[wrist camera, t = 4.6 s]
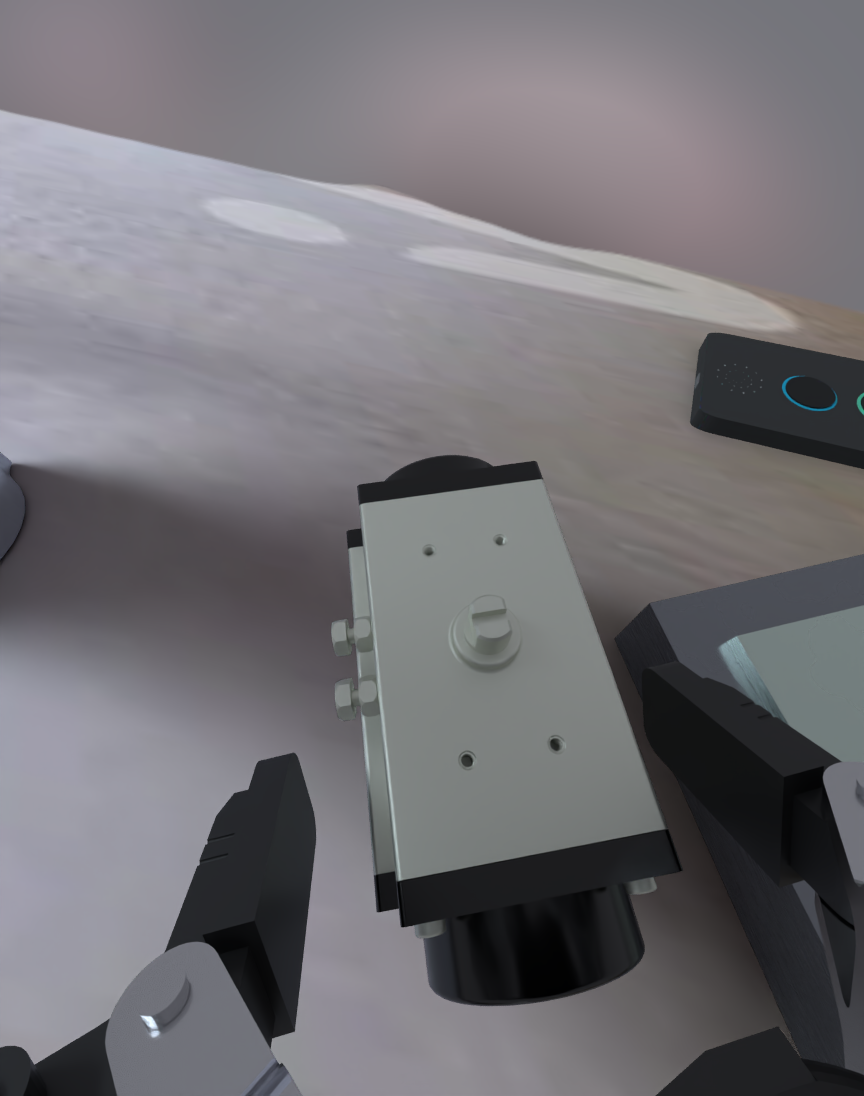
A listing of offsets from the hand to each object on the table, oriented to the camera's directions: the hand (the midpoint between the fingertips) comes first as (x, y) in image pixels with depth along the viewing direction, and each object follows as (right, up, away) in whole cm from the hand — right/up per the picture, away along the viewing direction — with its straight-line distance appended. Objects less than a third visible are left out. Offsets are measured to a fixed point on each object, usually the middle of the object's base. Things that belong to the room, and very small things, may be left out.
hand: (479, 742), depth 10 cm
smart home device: (+25, +11, +17) cm, 32 cm away
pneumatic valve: (0, -3, +9) cm, 9 cm away
